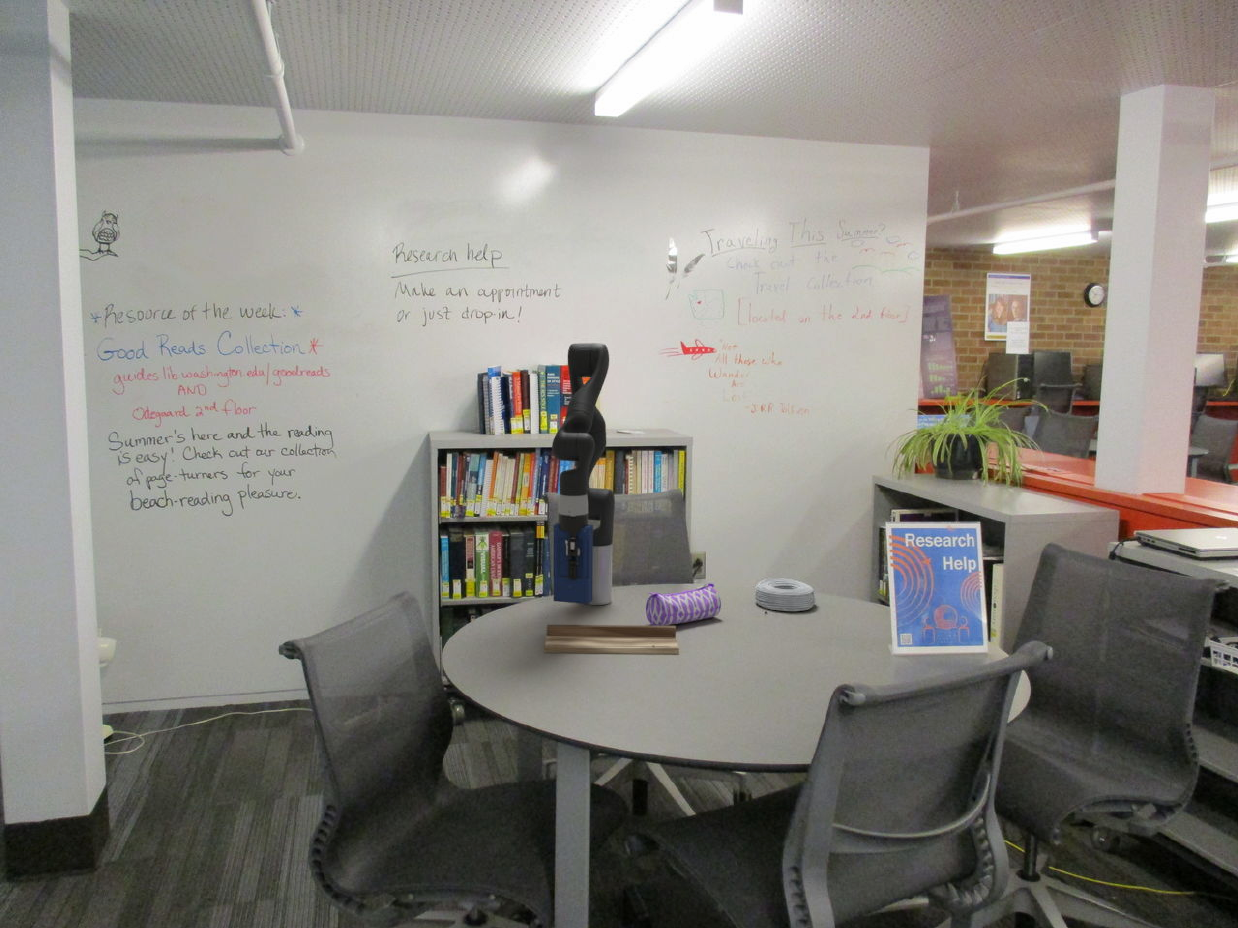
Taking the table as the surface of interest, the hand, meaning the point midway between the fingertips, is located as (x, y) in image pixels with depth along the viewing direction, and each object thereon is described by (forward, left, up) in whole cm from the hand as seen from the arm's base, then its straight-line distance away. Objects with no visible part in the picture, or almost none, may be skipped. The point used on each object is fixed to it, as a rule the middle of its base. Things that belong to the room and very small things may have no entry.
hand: (573, 575), depth 224 cm
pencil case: (-10, +30, -15) cm, 35 cm away
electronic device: (0, 0, -7) cm, 7 cm away
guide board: (+12, +10, -15) cm, 22 cm away
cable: (-28, +61, -15) cm, 69 cm away
